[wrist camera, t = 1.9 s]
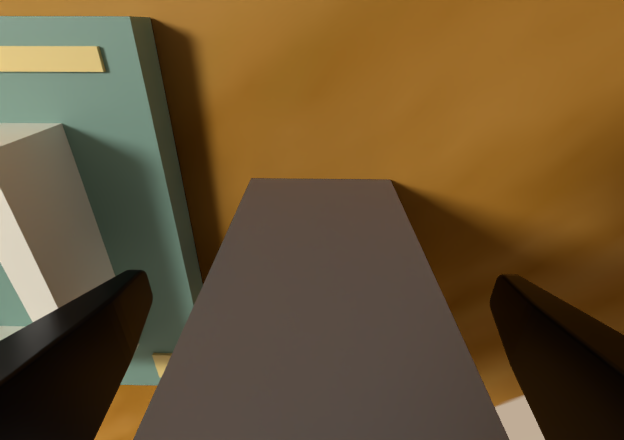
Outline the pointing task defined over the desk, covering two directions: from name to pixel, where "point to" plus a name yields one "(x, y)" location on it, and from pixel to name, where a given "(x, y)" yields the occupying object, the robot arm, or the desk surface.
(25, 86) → the board
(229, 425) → the plug
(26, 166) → the socket
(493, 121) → the desk surface
